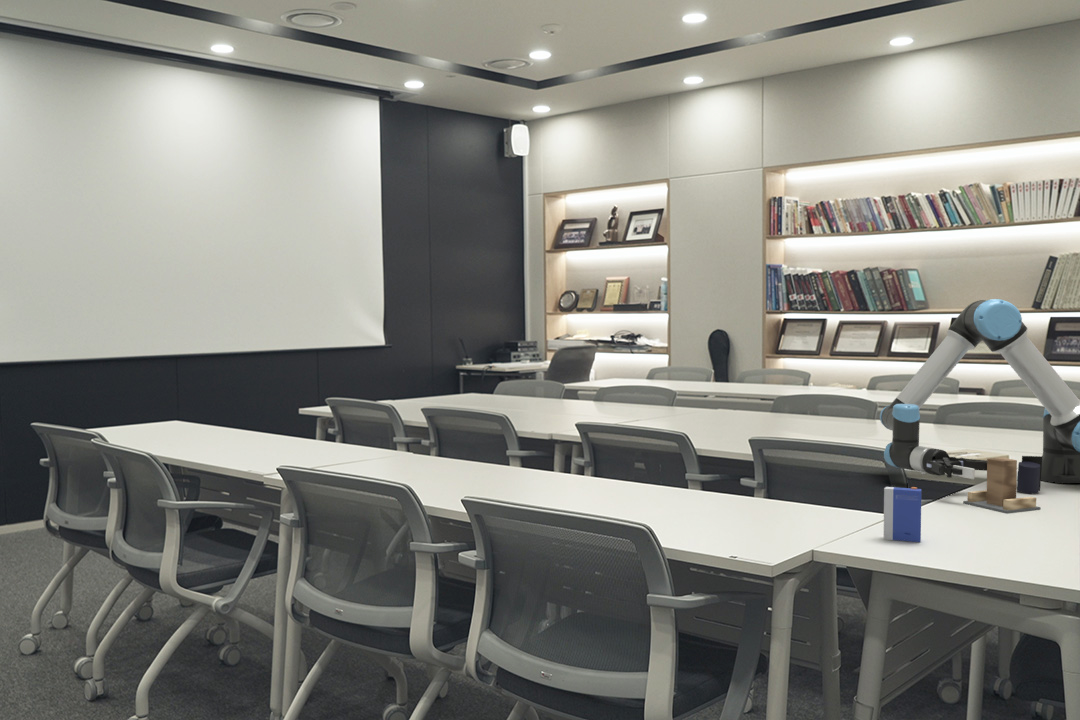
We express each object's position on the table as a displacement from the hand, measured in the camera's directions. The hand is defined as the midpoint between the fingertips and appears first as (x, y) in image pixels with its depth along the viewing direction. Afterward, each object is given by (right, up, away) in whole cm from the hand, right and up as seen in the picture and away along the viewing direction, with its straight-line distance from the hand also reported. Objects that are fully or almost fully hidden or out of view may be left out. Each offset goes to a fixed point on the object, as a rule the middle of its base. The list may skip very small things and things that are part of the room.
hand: (992, 472), depth 248 cm
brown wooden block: (+1, -8, -2) cm, 9 cm away
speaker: (+19, -8, +17) cm, 27 cm away
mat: (+1, -9, -2) cm, 9 cm away
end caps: (+1, -9, -2) cm, 9 cm away
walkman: (-39, -11, -38) cm, 56 cm away
